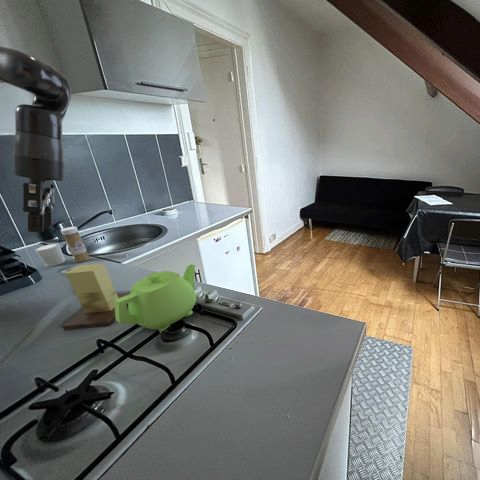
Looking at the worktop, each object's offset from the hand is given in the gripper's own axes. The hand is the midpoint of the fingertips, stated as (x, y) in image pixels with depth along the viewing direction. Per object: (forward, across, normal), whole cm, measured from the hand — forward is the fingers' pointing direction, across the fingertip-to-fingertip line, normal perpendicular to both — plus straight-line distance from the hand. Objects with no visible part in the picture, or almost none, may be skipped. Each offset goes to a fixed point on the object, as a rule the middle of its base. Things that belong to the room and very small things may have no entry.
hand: (40, 229), depth 60 cm
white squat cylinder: (+22, -54, -5) cm, 58 cm away
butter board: (+22, 0, +12) cm, 25 cm away
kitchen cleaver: (+21, -30, +5) cm, 37 cm away
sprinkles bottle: (+20, -49, +3) cm, 53 cm away
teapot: (+20, +14, +25) cm, 35 cm away
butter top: (+15, 0, +10) cm, 18 cm away
